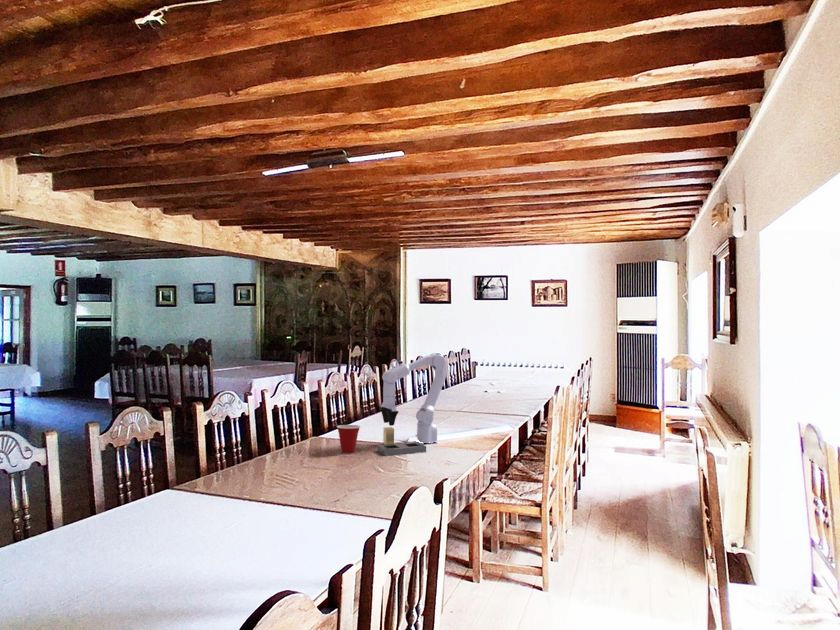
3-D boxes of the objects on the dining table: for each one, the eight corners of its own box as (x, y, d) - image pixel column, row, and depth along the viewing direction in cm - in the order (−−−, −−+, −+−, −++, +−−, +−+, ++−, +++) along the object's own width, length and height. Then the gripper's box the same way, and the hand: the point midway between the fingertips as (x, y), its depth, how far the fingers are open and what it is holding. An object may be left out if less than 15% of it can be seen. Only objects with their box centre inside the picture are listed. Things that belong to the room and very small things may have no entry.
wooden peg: (391, 443, 263) (391, 427, 264) (393, 445, 260) (394, 428, 260) (383, 444, 262) (383, 427, 262) (386, 445, 258) (386, 429, 258)
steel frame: (417, 447, 256) (417, 441, 256) (426, 451, 247) (426, 446, 247) (377, 450, 248) (377, 445, 248) (384, 455, 239) (384, 450, 239)
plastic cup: (362, 449, 251) (362, 423, 251) (357, 455, 240) (357, 428, 240) (339, 448, 252) (339, 422, 252) (333, 454, 241) (333, 427, 241)
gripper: (376, 394, 266) (376, 421, 266) (386, 398, 253) (386, 427, 253) (389, 393, 269) (389, 420, 269) (400, 397, 256) (400, 426, 256)
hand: (388, 424), depth 261 cm, fingers open, 7 cm apart
